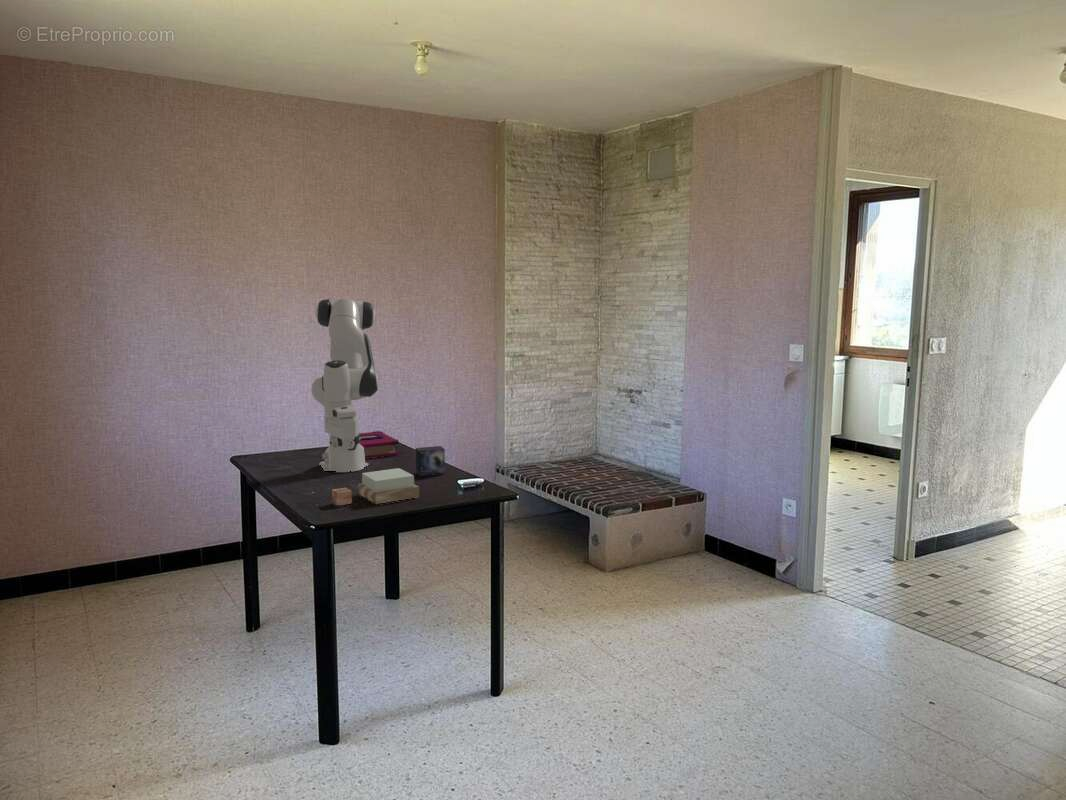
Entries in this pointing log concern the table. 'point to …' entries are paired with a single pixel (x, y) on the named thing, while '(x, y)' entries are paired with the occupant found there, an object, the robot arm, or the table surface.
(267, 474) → the table surface
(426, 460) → the small box
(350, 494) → the terracotta cube
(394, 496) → the birch slab
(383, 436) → the book
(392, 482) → the sage block
